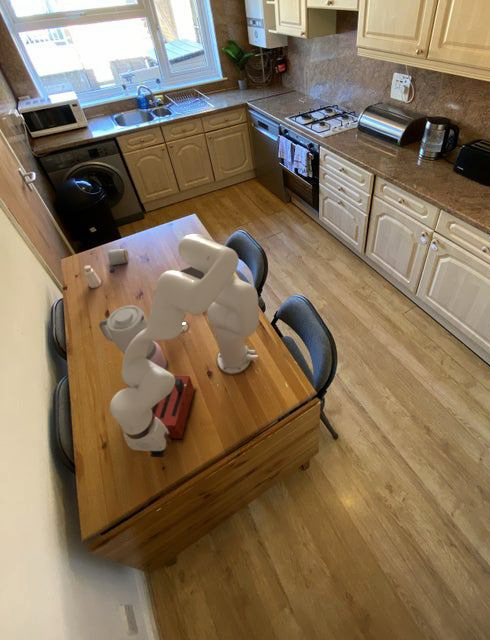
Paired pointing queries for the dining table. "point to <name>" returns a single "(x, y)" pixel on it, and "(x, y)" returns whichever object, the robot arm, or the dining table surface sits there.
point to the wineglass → (184, 326)
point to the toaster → (176, 408)
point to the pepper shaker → (92, 277)
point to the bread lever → (159, 454)
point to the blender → (130, 331)
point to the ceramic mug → (118, 256)
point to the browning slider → (179, 385)
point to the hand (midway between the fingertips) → (157, 450)
